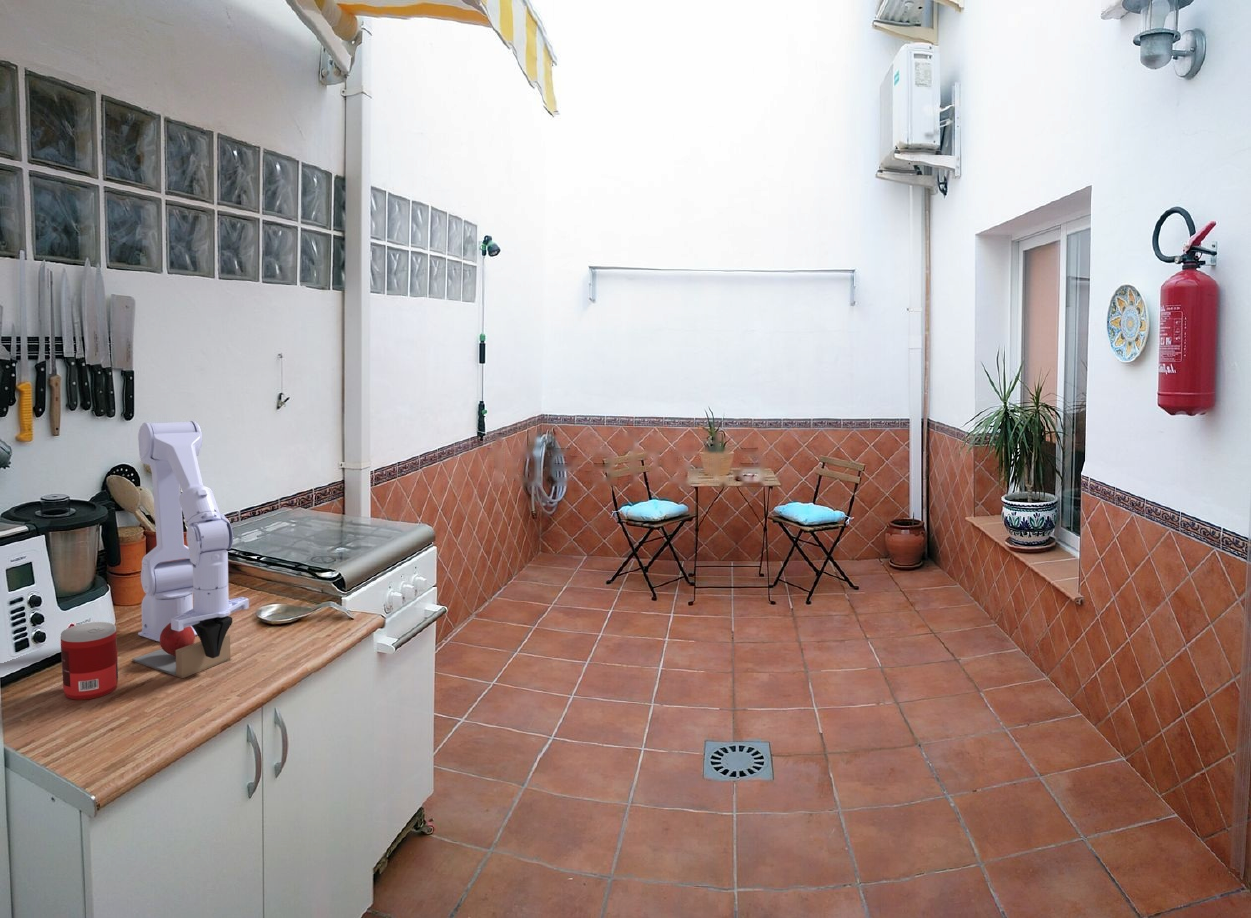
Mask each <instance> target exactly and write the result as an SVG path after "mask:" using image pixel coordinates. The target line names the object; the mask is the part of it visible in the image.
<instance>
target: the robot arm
mask: <svg viewBox="0 0 1251 918" xmlns="http://www.w3.org/2000/svg"><path fill="white" fill-rule="evenodd" d="M137 439H138V449H139V450H138V453H139V458H140V463H141V464H144V465H147V466H149V468H150V470H151V471H150V472H151V479H152V481H151V482H152V492H153V493H152V494H153V507H154V521H155V522H154V523H155V524H154V525H155V537H156V538H155V539H156V546H155V547H153V548H152V549H151V550H150V551H149V552H147V553H146V554H145V555H144V556H143V557H142V560H141V571H140V583H141V587H142V590H143V592H144V593H145V595H144V596H143V598H142V601H141V604H140V605H141V609H140V610H141V631H139V632H138V633H137V635H138V636H141V637H143V638H146V639H149V640H152V641H156V642H158V643H160V635H161V632H162V630H163V629H164V628H165V627H166V626H167V625H168V624H169V623H171V629H172V630H175V631H182V630H184V628H186V627H189V626H191V627H192V629H193V631H194V633H195V636H197V637H198V638H199V640H200V641H201V643H202V645H203V648H204V651H205V655H206V656H207V657H210V658H215V657H218V656H219V655H220V651H221V647H222V643H223V640H224V637H225V635H226V634H228V631H229V628H230V627H231V626H232V625H233V617H231V616H230V615H231V613H234V612H237V611H240V610H244V611H245V610H248V609H250V599H249V598H248V597H244V596H240V597H235V598H231V599H229V596H230V595H229V556H228V555H229V553H228V552H229V551H228V550H231V549H232V547H233V544H234V533H233V528H232V525H231V522H230V520H229V519H228V518H227V517H226V516H225V514H223V513H221V512H220V509H219V506H218V504H217V501H216V498H215V495H214V492H213V490H212V489H211V488H210V487H209V486H205V485H204V483H203V479H202V478H203V477H202V475H201V469H200V466H199V461H198V456H199V455H200V453H201V448H202V445H203V433H202V429H201V427H200V424H199V423H198V422H196V421H195V420H189V421H174V422H173V421H171V422H170V421H169V422H168V421H167V422H146V421H145V422H143V423H142V424H141V425H140V426H139V429H138V436H137ZM181 491H182V492H181ZM183 517H184V520H185V523H186V527H187V528H186V534H185V535H186V543H187V544H186V545H185V540H184V537H185V536H184V524H183V522H184V521H183ZM177 616H178V617H177Z"/></svg>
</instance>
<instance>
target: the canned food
mask: <svg viewBox="0 0 1251 918" xmlns="http://www.w3.org/2000/svg"><path fill="white" fill-rule="evenodd" d="M60 653H61V654H60V655H61V670H62V671H61V672H62V690H63V693H64V696H65V697H66V698H68V699H70V700H76V701H77V700H80V701H81V700H82V701H83V700H93V699H96V698H100V697H103V696H106V695H109V694H110V693H112V692H113V691H115V690H116V689H117V687H118V683H119V667H118V666H119V662H118V635H117V627H116V625H115V624H114V623H111V622H104V621H96V622H95V621H93V622H86V623H81V624H76V625H73V626H70V627H68V628H66V629H64V630H63V631H61V633H60Z"/></svg>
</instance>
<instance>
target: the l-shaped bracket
mask: <svg viewBox="0 0 1251 918" xmlns="http://www.w3.org/2000/svg"><path fill="white" fill-rule="evenodd" d="M229 661H231V634H228V633H226V635H225V637H224V640H223V643H222V647H221V651H220V655H219V656H218V657H215V658H210V657H207V656H206V655H205V651H204V648H203V645H202V643H201V640H200V641H198V642H195V643H193V644H191V645H189V646H186V647H183V648H180V649H177V650H176V657H175V656H173V655H170V654H168V653H166V652H165V651H164V650H163V649H162V648H160V649H157V650H154V651H151V652H149V653H145V654H142V655H139V656H137V657H133V658H132V662H135V663H138V664H140V665H143V666H146V667H149V668H152V669H154V670H157V671H160V672H163V673H166V674H169V675H172V676H174V677H178V678H180V679H183V678H187V677H189V676H192V675H194V674H197V673H199V672H202V671H204V670H208V669H210V668H212V667H215V666H218V665H220V664H223V663H225V662H229Z"/></svg>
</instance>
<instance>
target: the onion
mask: <svg viewBox="0 0 1251 918" xmlns="http://www.w3.org/2000/svg"><path fill="white" fill-rule="evenodd" d="M177 617H178V616H177ZM195 639H196V635H195V633H194V631H193V629H192V627H191V626H189V627H186V628H184V630H182V631H175V630H172V629H171V623H169V624H168V625H167V626H166V627H165V628H164V629H163V630H162V632H161V635H160V642H159V646H160V647H161V648H160V649H163V650H164V651H165V652H166V653H168V654H170V655H173V656H175V657H176V650H177V649H180V648H183V647H186V646H189V645H191V644H194V642H195Z"/></svg>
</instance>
